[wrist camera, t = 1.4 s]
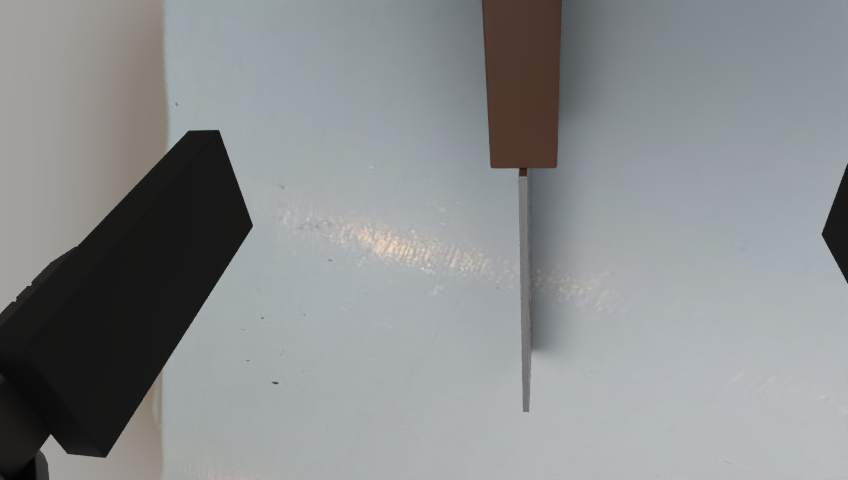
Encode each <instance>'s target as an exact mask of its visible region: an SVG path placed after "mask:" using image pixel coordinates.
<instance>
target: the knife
mask: <svg viewBox="0 0 848 480" xmlns="http://www.w3.org/2000/svg"><path fill="white" fill-rule="evenodd" d="M561 8H562V0H482V11H483V30H484V49H485V69H486V88H487V107H488V126H489V146H490V165H491V168H519V222H520V275H521V329H522V382H523V412H529V402H530V378H531V354H532V316H531V168H556V167H557V153H558V117H559V81H560V44H561Z"/></svg>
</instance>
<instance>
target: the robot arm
mask: <svg viewBox="0 0 848 480" xmlns="http://www.w3.org/2000/svg"><path fill="white" fill-rule="evenodd" d="M252 227H253V224H252V222H251V219H250V216H249V213H248V210H247V208H246V205H245V202H244V199H243V196H242V193H241V191H240V188H239V185H238V182H237V179H236V177H235V174H234V171H233V168H232V165H231V163H230V160H229V157H228V154H227V151H226V149H225V146H224V143H223V140H222V137H221V135H220V132H219V130H196V131H188V132H187V133H186V134H185V135H184V136H183V137H182V138H181V139H180V140H179V141H178V142H177V143H176V144H175V145H174V147H173V148H172V149H171V150H170V151H169V152H168V153H167V154H166V155H165V156H164V157H163V158H162V159H161V160H160V161H159V162H158V163H157V164H156V165H155V166H154V168H152V169H151V170H150V171H149V173H148V174H147V175H146V176H145V177H144V178H143V179H142V180H141V181H140V182H139V183H138V184H137V185H136V186H135V187H134V188H133V189H132V190H131V191H130V192H129V193H128V194H127V196H125V198H124V199H123V200H122V201H121V202H120V203H119V204H118V205H117V206H116V207H115V208H114V209H113V210H112V211H111V212H110V213H109V214H108V215H107V216H106V217H105V218H104V219H103V220H102V221H101V223H100V224H99V225H98V226H97V227H96V228H95V229H94V230H93V231H92V232H91V233H90V234H89V235H88V236H87V237H86V238H85V239H84V240H83V241H82V242H81V243H80V244H79V245H78V246H77V247H74V248H72V249H71V250H70V251H68V252H66V253H65V254H63V255H62V256H60V257H59V258H57V259H56V260H54V261H53V262H51V263H50V264H49V265H48V266H47V267H46V268H45V269H44V270H43V271H42V272H41V273H40V274H39V275H38V276H37V277H36V278H35V279H34V280H33V281H32V285H31V286H27V287H26V288H25V289H24V290H23V291H22V292H21V293H20V294H19V295H18V296H17V297H16V298H17V300H16V302H11V303H10V304H9V305H8V306H7V307H6V308H5V309H4V311H2V313H1V314H0V480H49V473H48V463H47V461H46V458H45V456H44V454H43V453H42V452H41V451H40V450H39V449H40V448H41V447H42V445H43V444H44V442H45V441H46V440H47V438H48V437H49V436H50V434H51V435H52V436H53V437H54V438H55V439H56V441H57V442H58V443H59V444H60V445H61V447H62V448H63V449H64V450H65V451H66V453H67V454H74V455H84V456H93V457H102V458H105V457H106V456H107V455H108V453H109V451H110V450H111V449H112V447H113V445H114V444H115V442H116V441H117V439H118V438H119V436H120V434H121V433H122V431H123V430H124V428H125V427H126V425H127V423H128V422H129V420H130V419H131V417H132V416H133V414H134V412H135V411H136V409H137V408H138V406H139V405H140V403H141V401H142V400H143V398H144V397H145V395H146V394H147V392H148V390H149V389H150V387H151V386H152V384H153V383H154V381H155V379H156V378H157V376H158V375H159V373H160V372H161V370H162V368H163V367H164V365H165V364H166V362H167V361H168V359H169V357H170V356H171V354H172V353H173V351H174V350H175V348H176V346H177V345H178V343H179V342H180V340H181V339H182V337H183V335H184V334H185V332H186V331H187V329H188V328H189V326H190V324H191V323H192V321H193V320H194V318H195V317H196V315H197V313H198V312H199V310H200V309H201V307H202V306H203V304H204V302H205V301H206V299H207V298H208V296H209V295H210V293H211V291H212V290H213V288H214V287H215V285H216V284H217V282H218V280H219V279H220V277H221V276H222V274H223V273H224V271H225V269H226V268H227V266H228V265H229V263H230V262H231V260H232V258H233V257H234V255H235V254H236V252H237V251H238V249H239V247H240V246H241V244H242V243H243V241H244V240H245V238H246V236H247V235H248V233H249V232H250V230H251V229H252ZM822 236H823V238H824V240H825V242H826V244H827V246H828V248H829V249H830V251H831V253H832V255H833V257H834V259H835V261H836V262H837V264H838V266H839V268H840V270H841V272H842V274H843V275H844V277H845V279H846V281H847V283H848V164H847V167H846V169H845V172H844V175H843V177H842V180H841V183H840V186H839V188H838V191H837V194H836V197H835V199H834V202H833V205H832V207H831V210H830V213H829V216H828V218H827V221H826V224H825V227H824V229H823V232H822Z"/></svg>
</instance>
